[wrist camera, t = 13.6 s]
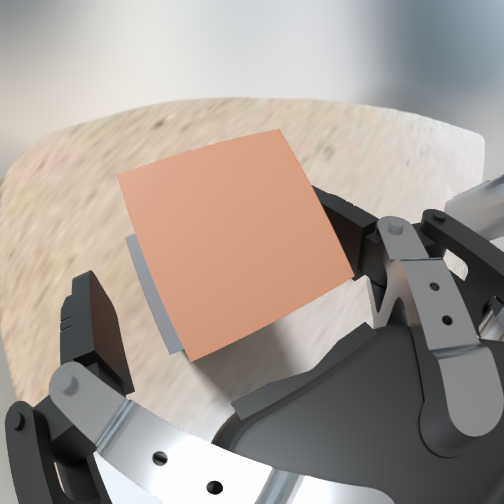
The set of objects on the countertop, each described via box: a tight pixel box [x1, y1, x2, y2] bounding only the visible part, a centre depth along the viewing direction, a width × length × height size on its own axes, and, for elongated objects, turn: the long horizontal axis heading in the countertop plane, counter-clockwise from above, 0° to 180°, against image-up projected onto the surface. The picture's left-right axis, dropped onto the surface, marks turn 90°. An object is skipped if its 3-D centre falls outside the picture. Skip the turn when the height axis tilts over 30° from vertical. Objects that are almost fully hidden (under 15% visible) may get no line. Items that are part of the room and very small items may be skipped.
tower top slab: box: [125, 234, 184, 355], centre depth 19 cm, size 8×8×4 cm
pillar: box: [118, 129, 354, 362], centre depth 12 cm, size 5×5×11 cm
